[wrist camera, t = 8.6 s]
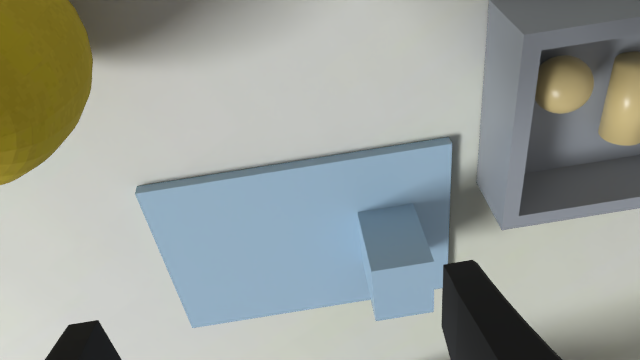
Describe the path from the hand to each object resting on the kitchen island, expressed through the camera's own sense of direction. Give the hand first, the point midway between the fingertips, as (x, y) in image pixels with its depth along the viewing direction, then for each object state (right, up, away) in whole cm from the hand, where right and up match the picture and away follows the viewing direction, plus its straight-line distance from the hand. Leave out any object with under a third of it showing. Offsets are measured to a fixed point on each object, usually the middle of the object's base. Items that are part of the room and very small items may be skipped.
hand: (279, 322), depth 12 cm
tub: (+13, +7, +10) cm, 18 cm away
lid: (0, +1, +13) cm, 13 cm away
